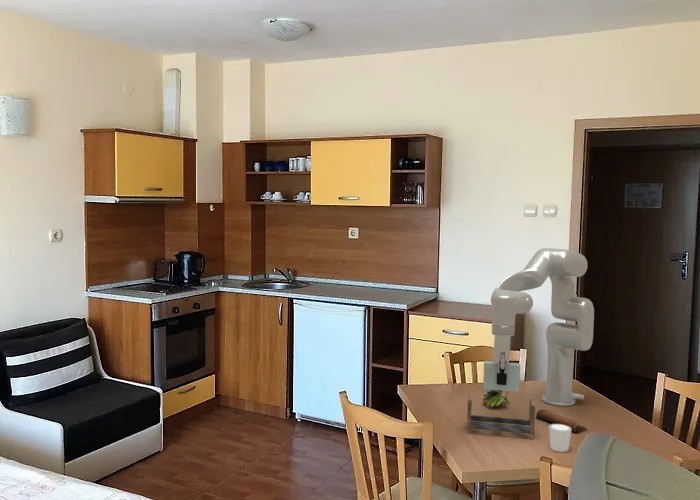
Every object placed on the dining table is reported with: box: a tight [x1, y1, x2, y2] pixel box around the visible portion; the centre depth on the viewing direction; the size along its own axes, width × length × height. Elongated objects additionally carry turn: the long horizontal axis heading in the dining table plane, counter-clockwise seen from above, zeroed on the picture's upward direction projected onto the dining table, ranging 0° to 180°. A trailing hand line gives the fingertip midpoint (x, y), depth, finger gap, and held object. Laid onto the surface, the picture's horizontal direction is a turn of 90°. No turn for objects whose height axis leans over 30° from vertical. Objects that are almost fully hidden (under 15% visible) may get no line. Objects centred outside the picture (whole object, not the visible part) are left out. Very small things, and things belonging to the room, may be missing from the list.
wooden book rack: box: [466, 392, 536, 440], centre depth 216 cm, size 22×8×12 cm, turn 78°
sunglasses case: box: [535, 409, 590, 435], centre depth 225 cm, size 18×7×7 cm
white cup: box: [548, 423, 572, 453], centre depth 202 cm, size 7×7×7 cm
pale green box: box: [482, 360, 521, 393], centre depth 215 cm, size 12×4×9 cm, turn 78°
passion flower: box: [482, 389, 510, 409], centre depth 244 cm, size 11×11×12 cm
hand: (501, 382), depth 215 cm, fingers closed on pale green box, 3 cm apart
